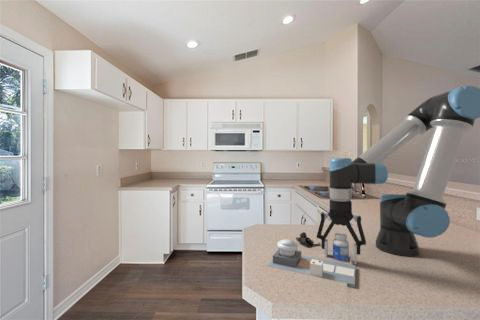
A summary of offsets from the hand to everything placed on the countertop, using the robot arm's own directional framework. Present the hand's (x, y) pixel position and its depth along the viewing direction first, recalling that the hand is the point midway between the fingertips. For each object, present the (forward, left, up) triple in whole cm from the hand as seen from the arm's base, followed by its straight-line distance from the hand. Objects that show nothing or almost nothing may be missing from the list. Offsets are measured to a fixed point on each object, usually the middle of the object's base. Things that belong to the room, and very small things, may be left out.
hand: (340, 260), depth 87 cm
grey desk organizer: (+8, +11, 0) cm, 14 cm away
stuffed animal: (+16, -10, -1) cm, 19 cm away
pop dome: (+17, +11, +2) cm, 20 cm away
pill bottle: (0, 0, 0) cm, 0 cm away
